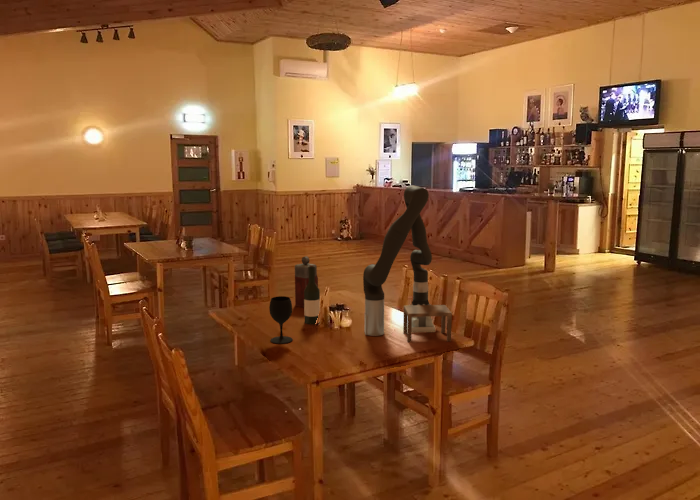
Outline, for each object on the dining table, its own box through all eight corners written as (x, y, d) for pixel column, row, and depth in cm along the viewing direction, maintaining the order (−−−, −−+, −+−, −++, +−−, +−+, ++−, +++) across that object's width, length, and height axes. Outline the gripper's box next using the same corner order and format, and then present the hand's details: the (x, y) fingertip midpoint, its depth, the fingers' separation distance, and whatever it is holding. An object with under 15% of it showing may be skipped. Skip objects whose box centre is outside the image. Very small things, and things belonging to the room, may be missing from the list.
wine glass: (274, 345, 262) (273, 302, 259) (267, 338, 271) (265, 297, 268) (296, 341, 267) (295, 299, 263) (287, 335, 276) (287, 294, 273)
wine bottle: (301, 323, 295) (300, 265, 290) (308, 319, 303) (307, 262, 298) (316, 325, 292) (315, 266, 287) (323, 320, 300) (322, 263, 294)
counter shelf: (407, 342, 266) (408, 313, 264) (403, 332, 280) (403, 305, 278) (450, 341, 267) (451, 312, 265) (444, 331, 281) (445, 304, 279)
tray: (410, 332, 280) (410, 318, 279) (407, 326, 290) (408, 312, 289) (435, 332, 281) (435, 318, 280) (431, 325, 291) (432, 312, 289)
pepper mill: (320, 303, 333) (319, 255, 328) (306, 307, 325) (305, 258, 320) (308, 301, 339) (308, 254, 334) (295, 305, 330) (294, 256, 326)
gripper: (432, 287, 292) (431, 321, 295) (406, 288, 292) (405, 321, 295) (435, 291, 285) (434, 325, 288) (408, 292, 284) (408, 326, 287)
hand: (420, 323), depth 291 cm, fingers closed
